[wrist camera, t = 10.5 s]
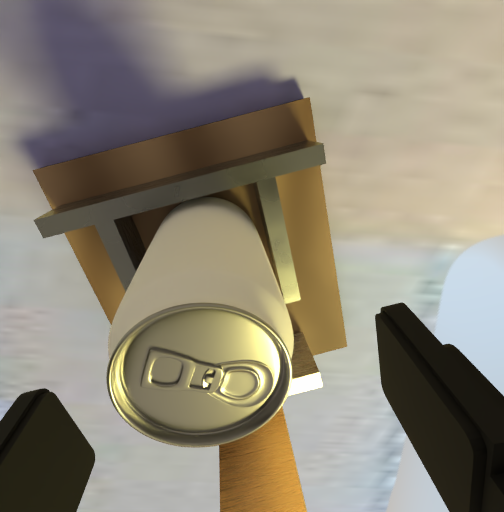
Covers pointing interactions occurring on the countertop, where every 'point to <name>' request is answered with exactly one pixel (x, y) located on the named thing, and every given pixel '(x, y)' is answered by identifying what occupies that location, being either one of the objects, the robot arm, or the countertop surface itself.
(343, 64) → the countertop surface
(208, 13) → the countertop surface
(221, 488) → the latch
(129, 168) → the rail board
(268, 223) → the can holder
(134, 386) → the can
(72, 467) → the robot arm
